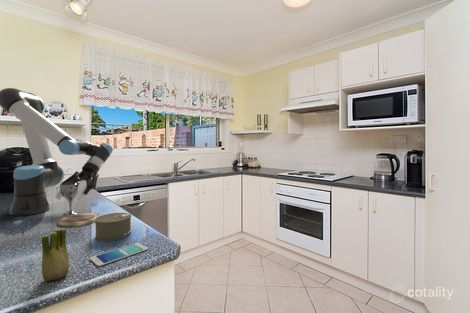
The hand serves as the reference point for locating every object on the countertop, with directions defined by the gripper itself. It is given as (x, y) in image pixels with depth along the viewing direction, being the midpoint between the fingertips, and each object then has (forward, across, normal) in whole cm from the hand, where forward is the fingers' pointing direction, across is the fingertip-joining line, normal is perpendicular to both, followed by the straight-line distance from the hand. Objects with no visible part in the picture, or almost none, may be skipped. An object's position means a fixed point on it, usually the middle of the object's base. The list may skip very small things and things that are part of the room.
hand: (67, 198), depth 114 cm
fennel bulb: (+38, -50, +26) cm, 68 cm away
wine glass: (+4, 0, -7) cm, 8 cm away
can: (+18, -42, +7) cm, 46 cm away
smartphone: (+27, -56, +16) cm, 64 cm away
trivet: (+10, -15, 0) cm, 18 cm away
